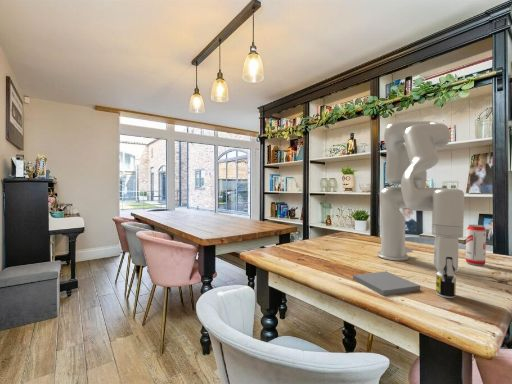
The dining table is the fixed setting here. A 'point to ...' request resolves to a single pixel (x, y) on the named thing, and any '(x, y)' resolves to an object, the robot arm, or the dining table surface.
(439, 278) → the supplement bottle
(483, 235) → the beer can
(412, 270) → the dining table surface
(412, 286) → the slate board
